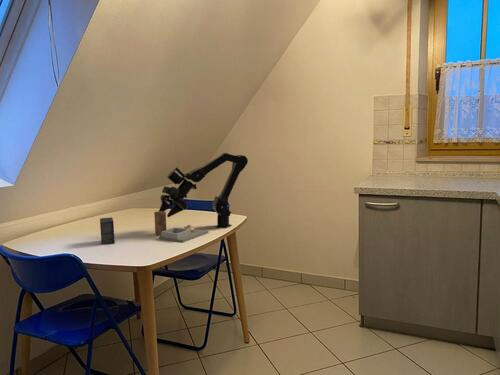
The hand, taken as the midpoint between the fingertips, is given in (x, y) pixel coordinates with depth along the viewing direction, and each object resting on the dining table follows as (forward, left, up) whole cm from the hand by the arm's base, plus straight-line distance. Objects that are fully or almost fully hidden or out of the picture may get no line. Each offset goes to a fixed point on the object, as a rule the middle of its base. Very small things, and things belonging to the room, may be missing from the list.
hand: (163, 215), depth 201 cm
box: (+23, -13, -9) cm, 28 cm away
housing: (-2, +11, -9) cm, 15 cm away
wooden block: (+1, -1, -9) cm, 9 cm away
